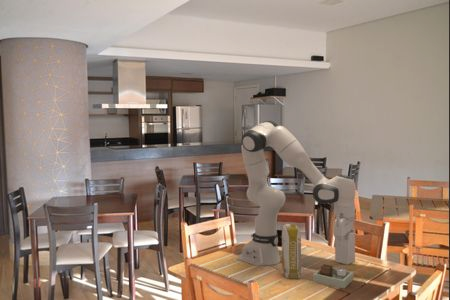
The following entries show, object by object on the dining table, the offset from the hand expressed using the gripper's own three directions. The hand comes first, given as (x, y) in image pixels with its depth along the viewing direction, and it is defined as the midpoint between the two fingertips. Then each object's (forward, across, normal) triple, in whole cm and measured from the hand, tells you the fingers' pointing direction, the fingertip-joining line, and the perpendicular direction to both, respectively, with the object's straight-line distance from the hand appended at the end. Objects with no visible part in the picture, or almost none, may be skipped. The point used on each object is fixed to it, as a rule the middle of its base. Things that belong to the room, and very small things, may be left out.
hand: (343, 242), depth 176 cm
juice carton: (+18, -6, +22) cm, 29 cm away
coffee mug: (+18, +35, +44) cm, 58 cm away
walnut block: (+16, -2, +6) cm, 18 cm away
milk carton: (+17, +24, +5) cm, 29 cm away
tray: (+17, -3, +3) cm, 18 cm away
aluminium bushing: (+16, -3, 0) cm, 16 cm away
